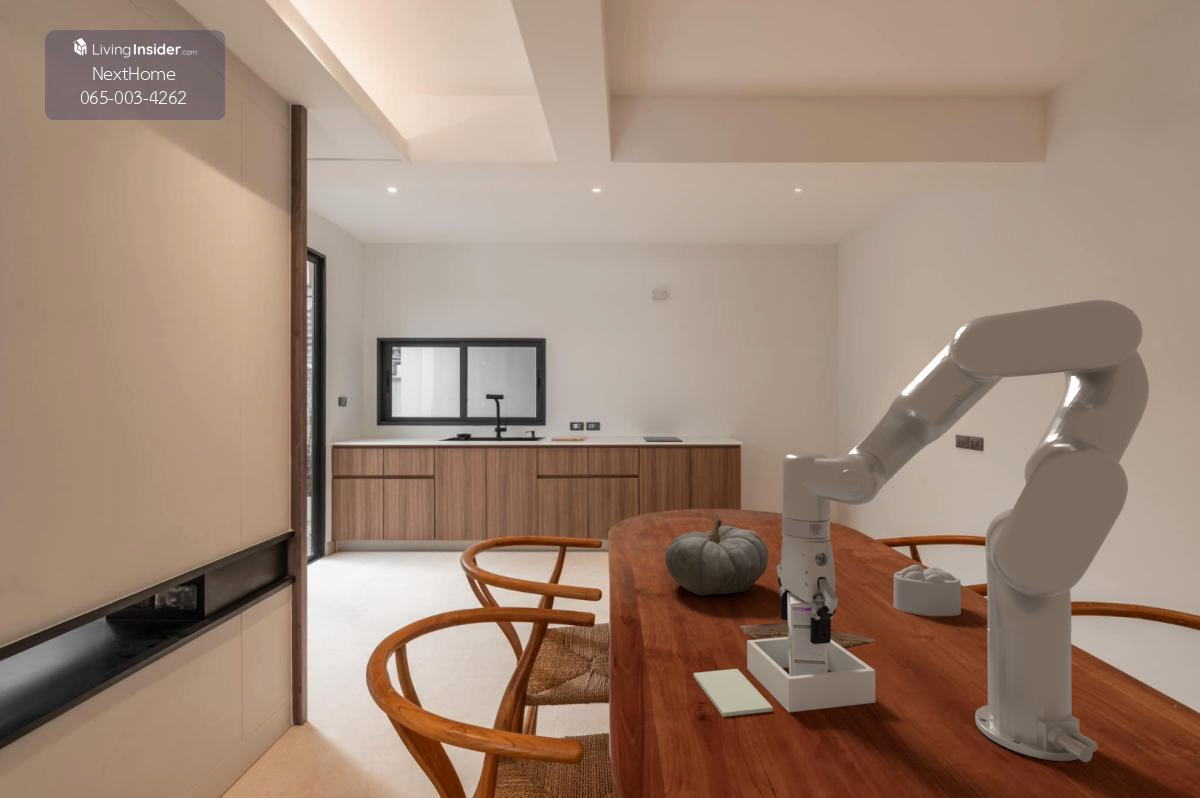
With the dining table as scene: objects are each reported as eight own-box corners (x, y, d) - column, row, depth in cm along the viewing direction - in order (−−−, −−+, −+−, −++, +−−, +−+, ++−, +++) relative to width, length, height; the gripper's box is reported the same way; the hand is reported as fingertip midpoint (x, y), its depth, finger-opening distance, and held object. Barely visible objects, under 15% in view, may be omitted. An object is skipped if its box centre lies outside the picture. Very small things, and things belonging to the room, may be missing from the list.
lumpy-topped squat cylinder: (967, 616, 128) (967, 576, 128) (908, 616, 128) (907, 576, 128) (938, 599, 138) (938, 562, 138) (884, 600, 138) (883, 563, 138)
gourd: (795, 585, 141) (780, 514, 141) (710, 620, 130) (694, 543, 131) (731, 569, 164) (718, 507, 164) (654, 597, 153) (641, 532, 153)
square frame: (875, 702, 92) (875, 670, 92) (788, 712, 89) (788, 679, 89) (823, 661, 106) (823, 633, 106) (747, 668, 104) (747, 640, 104)
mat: (772, 711, 90) (772, 707, 90) (723, 716, 88) (723, 712, 88) (737, 672, 102) (737, 668, 102) (693, 676, 101) (693, 673, 101)
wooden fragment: (737, 640, 117) (737, 635, 117) (741, 620, 127) (741, 615, 127) (881, 657, 109) (881, 651, 109) (872, 634, 119) (872, 629, 119)
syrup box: (829, 695, 94) (828, 604, 94) (790, 691, 96) (790, 602, 96) (823, 678, 100) (822, 592, 100) (787, 675, 101) (786, 590, 101)
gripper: (858, 540, 90) (856, 651, 90) (799, 516, 107) (798, 610, 107) (813, 541, 89) (811, 655, 89) (760, 517, 106) (759, 612, 106)
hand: (804, 630), depth 98 cm, fingers open, 9 cm apart
